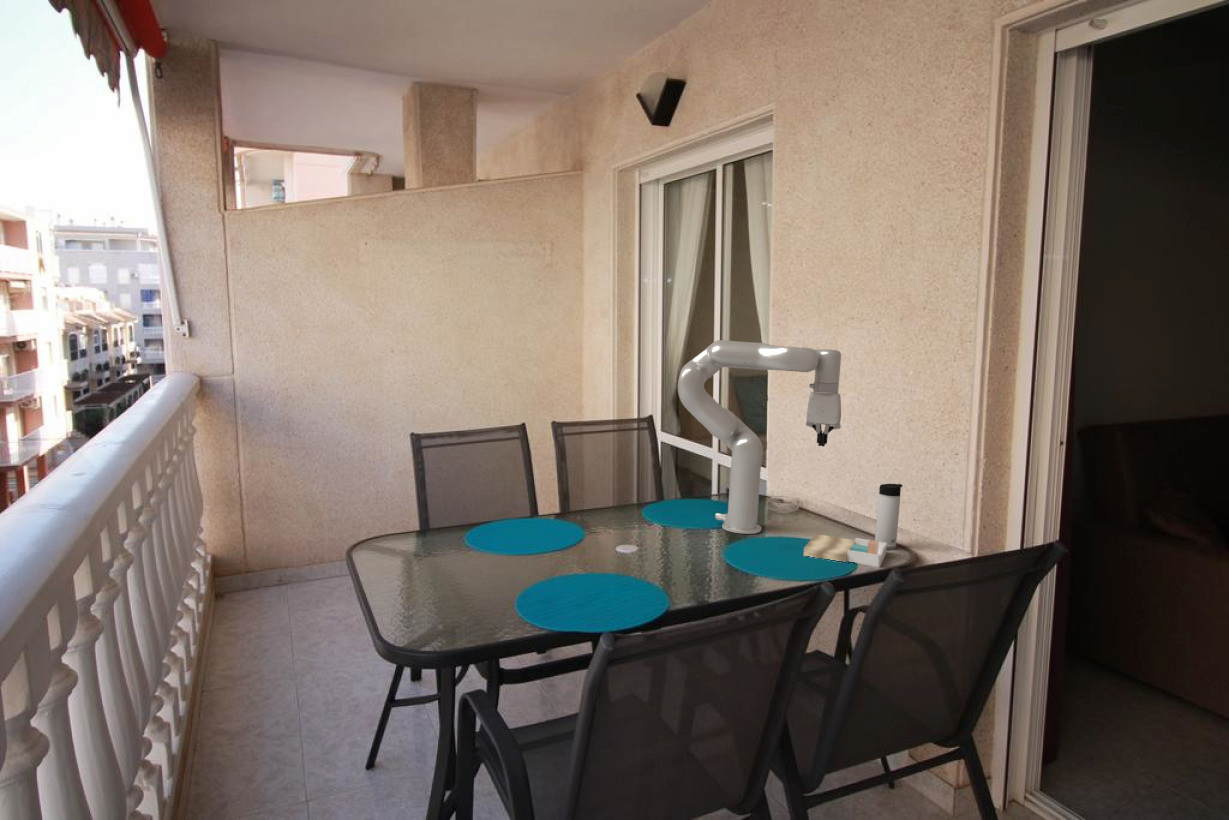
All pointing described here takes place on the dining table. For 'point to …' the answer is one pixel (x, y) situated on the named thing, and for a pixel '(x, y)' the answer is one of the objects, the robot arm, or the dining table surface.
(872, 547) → the tile terracotta
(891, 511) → the travel mug
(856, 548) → the tile teal
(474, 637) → the dining table surface
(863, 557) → the tray
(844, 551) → the board
